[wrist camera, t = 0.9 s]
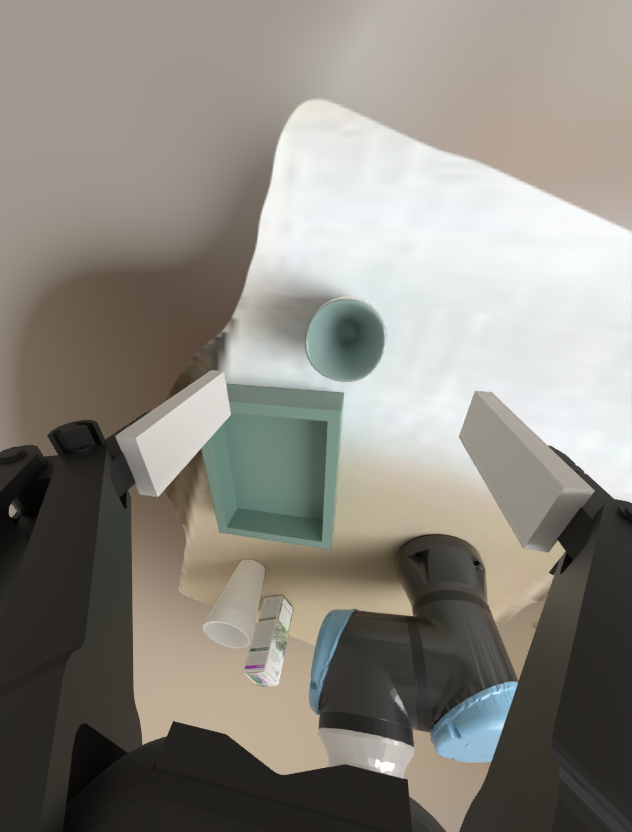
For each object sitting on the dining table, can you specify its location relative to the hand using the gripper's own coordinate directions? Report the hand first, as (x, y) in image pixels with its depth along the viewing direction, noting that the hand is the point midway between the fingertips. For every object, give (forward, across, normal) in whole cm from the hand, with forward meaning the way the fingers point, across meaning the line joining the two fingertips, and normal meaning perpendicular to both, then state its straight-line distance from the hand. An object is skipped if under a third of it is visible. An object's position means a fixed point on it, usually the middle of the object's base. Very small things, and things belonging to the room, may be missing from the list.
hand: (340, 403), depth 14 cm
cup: (+22, 0, 0) cm, 23 cm away
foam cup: (+20, +18, +54) cm, 61 cm away
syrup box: (+20, +12, +66) cm, 70 cm away
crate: (+21, +10, +22) cm, 33 cm away
